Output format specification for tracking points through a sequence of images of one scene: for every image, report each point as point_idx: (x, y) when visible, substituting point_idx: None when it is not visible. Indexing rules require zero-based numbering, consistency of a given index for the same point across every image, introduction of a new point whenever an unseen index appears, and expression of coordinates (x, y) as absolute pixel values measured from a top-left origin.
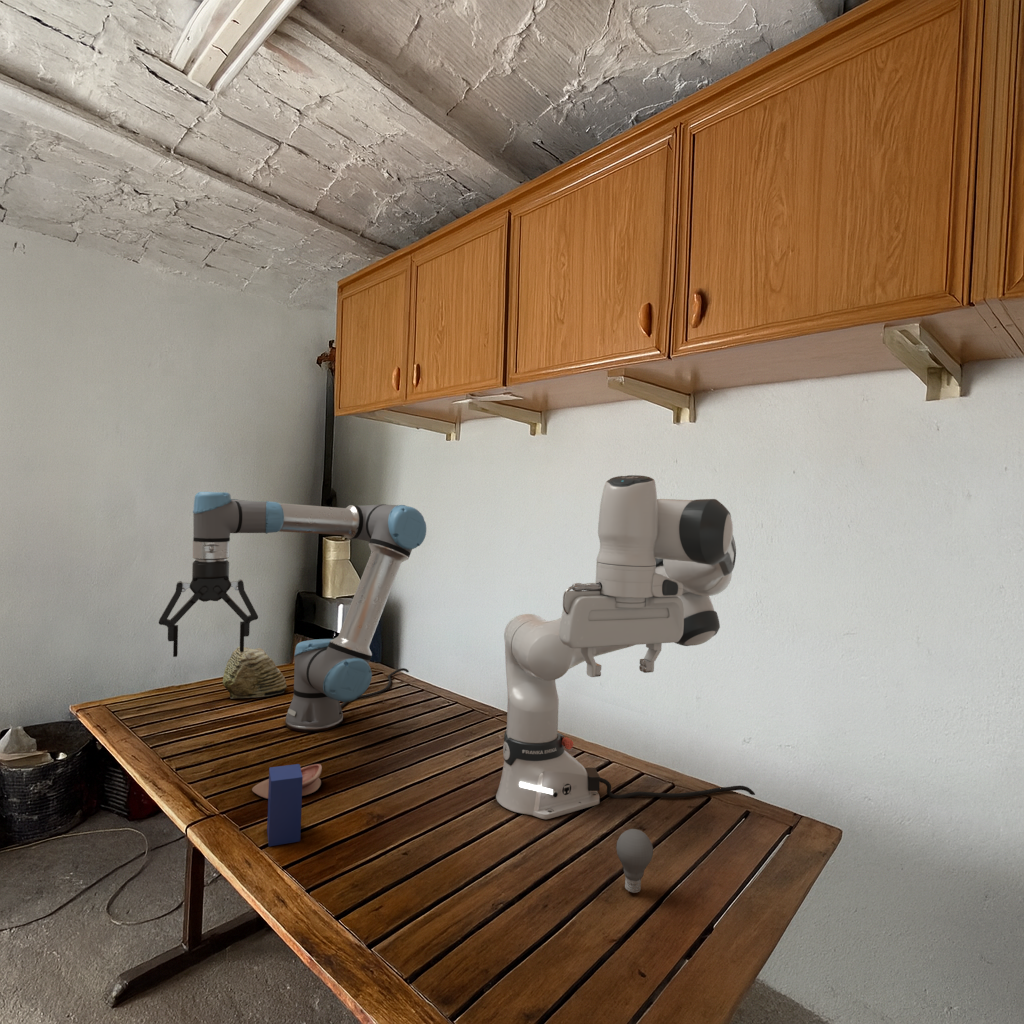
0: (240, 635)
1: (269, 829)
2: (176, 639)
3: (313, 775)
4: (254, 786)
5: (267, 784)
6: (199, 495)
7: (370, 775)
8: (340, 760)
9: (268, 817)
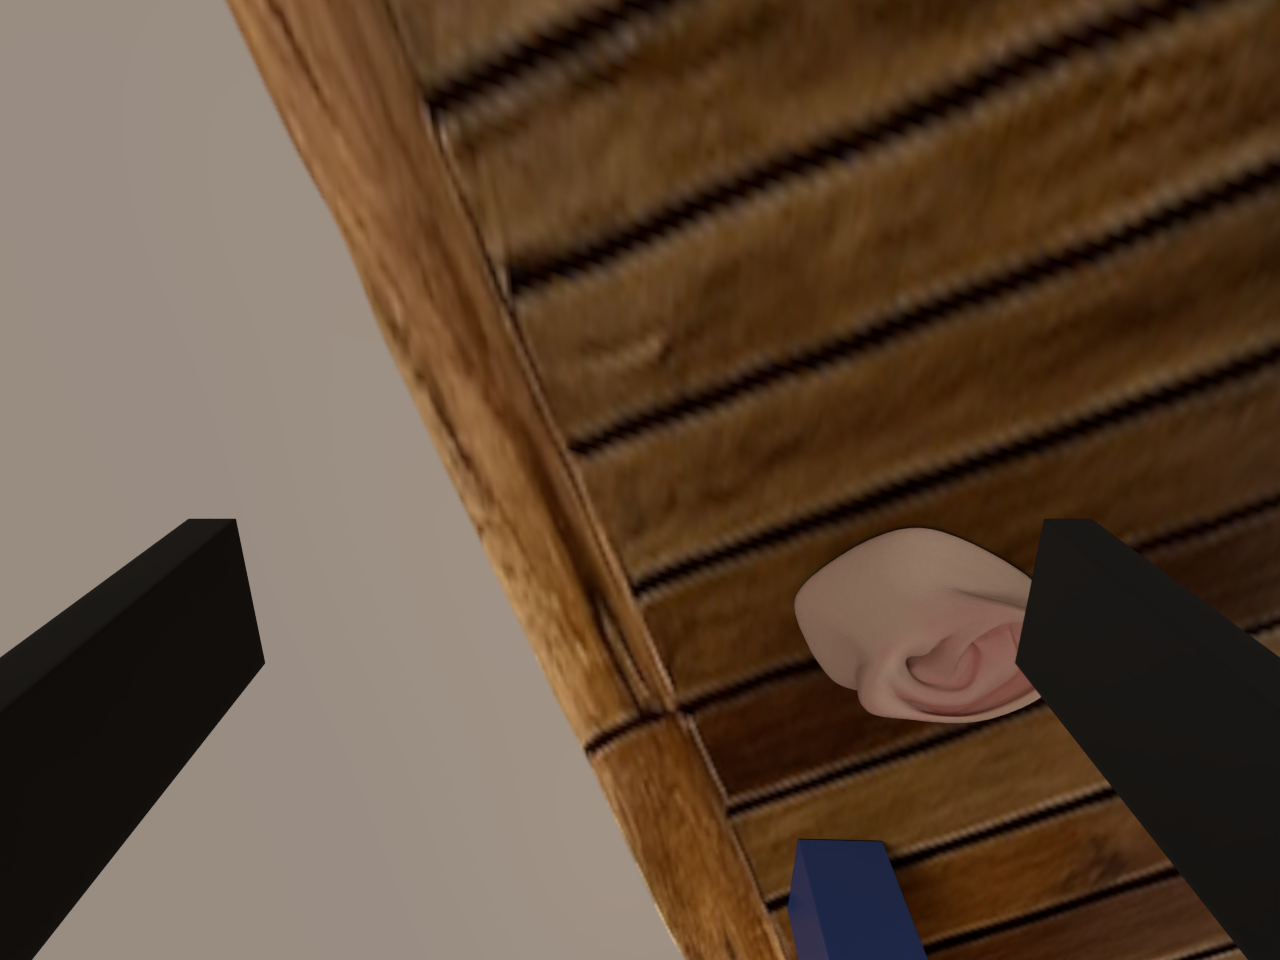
0: (1156, 813)
1: (797, 952)
2: (112, 843)
3: None
4: (806, 598)
5: (850, 643)
6: None
7: (1233, 609)
8: (1198, 431)
9: (804, 926)
